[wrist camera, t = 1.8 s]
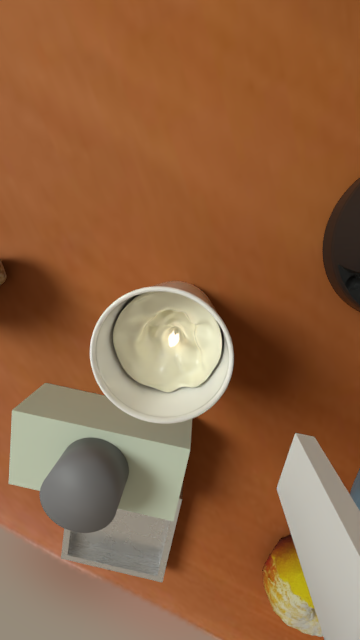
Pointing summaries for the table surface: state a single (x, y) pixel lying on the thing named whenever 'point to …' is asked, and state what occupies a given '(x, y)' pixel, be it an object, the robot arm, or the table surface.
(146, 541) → the gray square tray
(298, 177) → the table surface
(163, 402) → the candle holder
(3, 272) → the stone disc
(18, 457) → the push-button box
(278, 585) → the fruit
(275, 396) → the table surface
